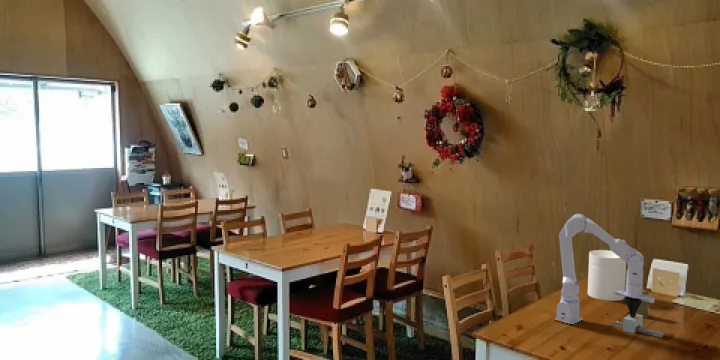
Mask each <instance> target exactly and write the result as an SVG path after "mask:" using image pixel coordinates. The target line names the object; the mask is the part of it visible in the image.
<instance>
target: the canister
mask: <svg viewBox="0 0 720 360" xmlns="http://www.w3.org/2000/svg"><path fill="white" fill-rule="evenodd" d="M626 266H627V261H625V260H623V259H621V258H620V257H619V256H617V255H616V254H615V253H614V252H612V251H611V250H607V249H598V250H597V249H596V250H590V251H589V252H588V272H587V273H588V274H587V275H588V276H587V277H588V278H587V295H588V297H590V298H593V299H596V300H600V301H611V302H616V301H617V302H618V301H623V300H625V297H624V296H619V295H614V290H616V289H617V290H624V291H626V275H627V270H626V268H627V267H626Z"/></svg>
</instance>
